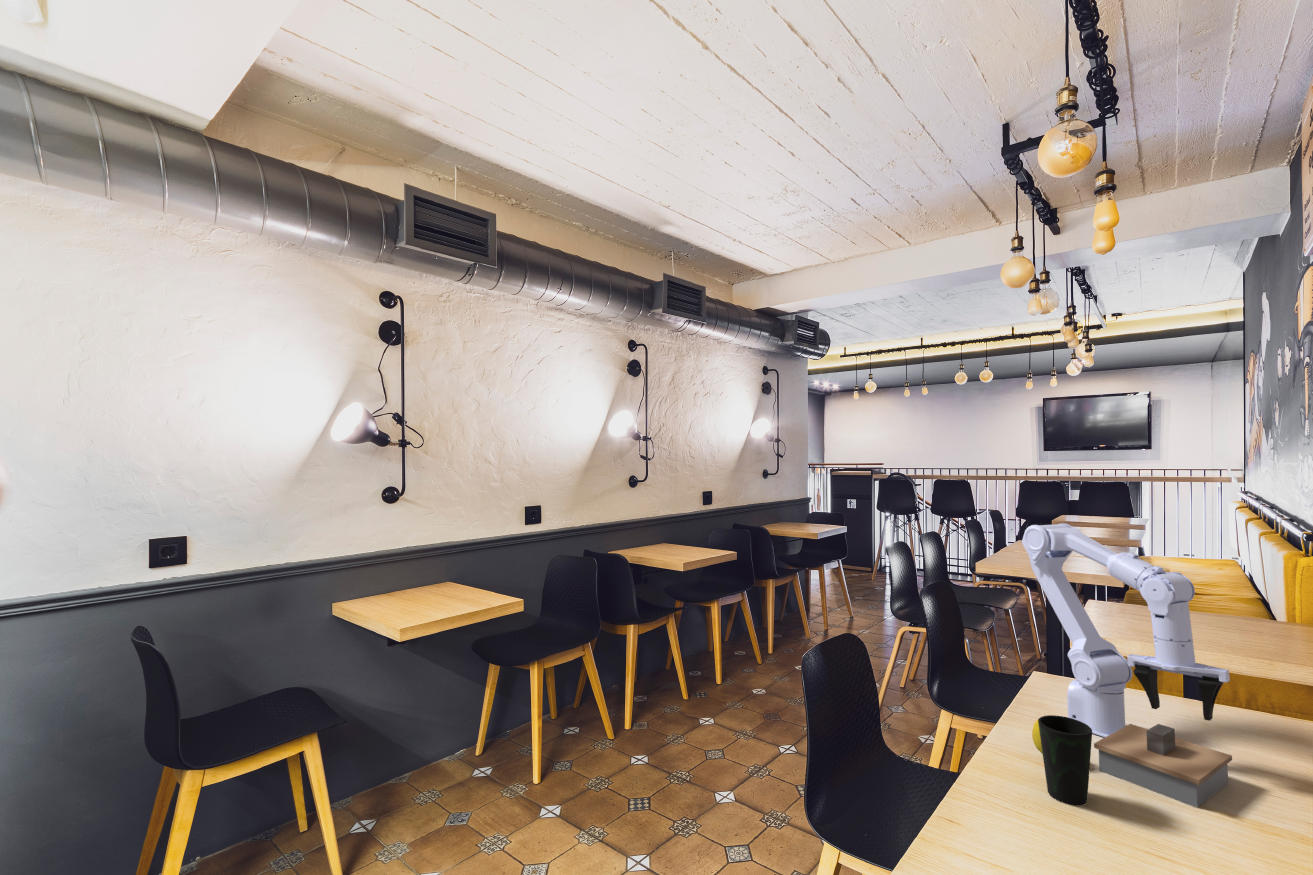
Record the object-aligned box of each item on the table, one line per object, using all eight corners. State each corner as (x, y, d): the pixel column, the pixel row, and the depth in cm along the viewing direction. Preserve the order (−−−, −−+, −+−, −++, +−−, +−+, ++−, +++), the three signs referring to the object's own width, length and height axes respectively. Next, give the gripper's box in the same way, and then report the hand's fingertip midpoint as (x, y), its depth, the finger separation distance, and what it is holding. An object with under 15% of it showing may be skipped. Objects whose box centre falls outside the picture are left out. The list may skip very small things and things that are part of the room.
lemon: (1073, 767, 112) (1071, 723, 112) (1040, 764, 113) (1038, 721, 113) (1059, 752, 117) (1058, 711, 117) (1028, 750, 118) (1026, 709, 118)
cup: (1085, 787, 105) (1083, 718, 105) (1102, 812, 98) (1099, 737, 98) (1035, 780, 107) (1032, 712, 108) (1047, 804, 100) (1044, 731, 100)
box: (1099, 770, 111) (1098, 748, 111) (1133, 750, 118) (1132, 729, 118) (1197, 807, 99) (1196, 782, 99) (1228, 782, 106) (1227, 759, 106)
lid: (1094, 747, 111) (1093, 723, 111) (1130, 727, 119) (1129, 705, 119) (1199, 784, 98) (1197, 758, 98) (1232, 759, 106) (1231, 735, 106)
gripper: (1118, 635, 117) (1126, 707, 116) (1217, 648, 105) (1227, 729, 104) (1132, 629, 121) (1139, 699, 120) (1228, 642, 109) (1238, 720, 108)
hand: (1181, 713), depth 112 cm, fingers open, 7 cm apart
